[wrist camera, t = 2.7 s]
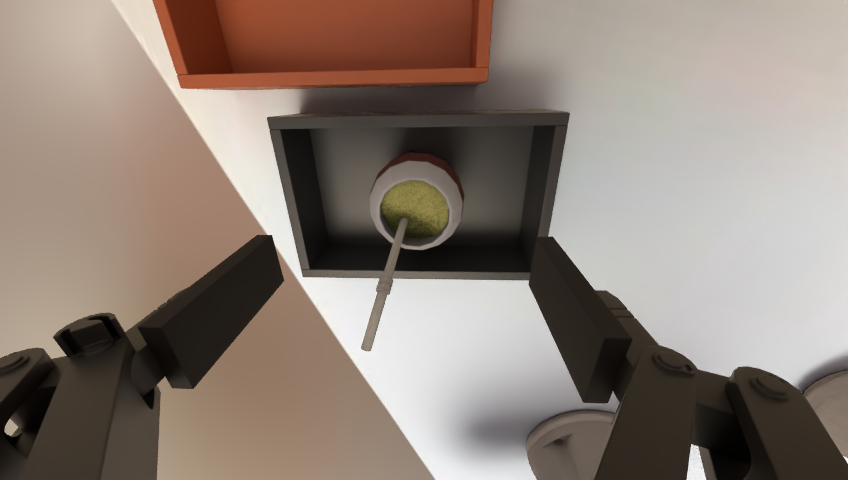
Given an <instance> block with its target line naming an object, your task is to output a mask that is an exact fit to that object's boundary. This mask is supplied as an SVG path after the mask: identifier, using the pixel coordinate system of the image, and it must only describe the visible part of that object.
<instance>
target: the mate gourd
mask: <svg viewBox="0 0 848 480" xmlns="http://www.w3.org/2000/svg"><path fill="white" fill-rule="evenodd" d="M464 196H465V195H464V192H463V189H462V186H461V182H460V179H459V177H458V176H457V174H456V173H455V172H454V171H453V170H452V168H451V167H450V166H449V165H448V164H447V163H446V162H445V161H443V160H441V159H439V158H437V157H435V156H433V155H431V154H427V153H415V152H414V150H410V151H408V152H405V153H403V154H401V155H399V156H398V157H396V158H394V159H392V160H391V161H390V162H389V163H388V164H387V165H386V166H385V167H384V168H383V169H382V170H381V171H380V172H379V173H378V175H377V177H376V179H375V182H374V184H373V187H372V189H371V192H370V214H371V217H372V219H373V221H374V223H375V225H376V228H377V230H378V231H379V232H380V233H381V234H382V235H383V236H384V237H385V238H386V239H387V240H388V241H389V242H391V243H393V245H392V248H391V251H390V254H389V258H388V261H387V264H386V267H385V270H384V273H383V275H382V276H381V277H380V279H379V282H378V285H377V288H376V291H377V292H378V293H377V296H376V299H375V303H374V306H373V309H372V313H371V316H370V320H369V323H368V326H367V330H366V333H365V336H364V340H363V343H362V347H361V349H362V350H364V351H371V348H372V345H373V341H374V338H375V335H376V331H377V328H378V324H379V321H380V317H381V314H382V311H383V307H384V304H385V300H386V297H387V295H388V294H390V291H391V287H392V283H393V279H392V276H393V272H394V269H395V265H396V262H397V258H398V255H399V251H400V247H402V248H404V249H413V250H424V249H428V248H431V247H435V246H438V245H440V244H441V243H442V242H444V241H445V240H446V239H448V238H449V237H450V236H451V235H452V234H453V233H454V231H455V229H456V228H457V226H458V224H459V222H460V221H461V217H462V214H463V205H464Z"/></svg>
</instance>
